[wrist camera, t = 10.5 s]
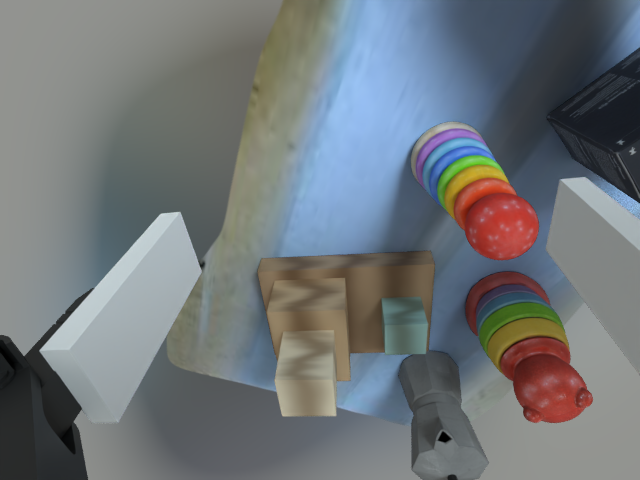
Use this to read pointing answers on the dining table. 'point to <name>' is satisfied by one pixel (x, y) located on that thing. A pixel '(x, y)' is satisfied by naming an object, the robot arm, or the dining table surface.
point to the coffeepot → (439, 420)
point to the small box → (606, 126)
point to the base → (352, 301)
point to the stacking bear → (527, 346)
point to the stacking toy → (474, 190)
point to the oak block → (307, 373)
